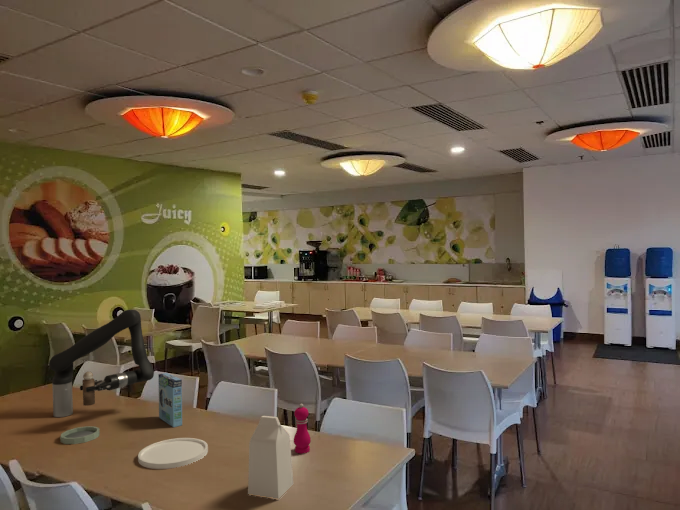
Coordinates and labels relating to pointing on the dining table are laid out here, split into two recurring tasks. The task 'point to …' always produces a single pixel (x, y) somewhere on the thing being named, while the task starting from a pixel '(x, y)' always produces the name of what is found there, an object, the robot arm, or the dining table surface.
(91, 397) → the wooden peg figure
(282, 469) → the milk
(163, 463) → the plate
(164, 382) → the light blue cardboard box
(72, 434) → the round tray
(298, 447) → the pepper mill
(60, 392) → the robot arm
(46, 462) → the dining table surface
